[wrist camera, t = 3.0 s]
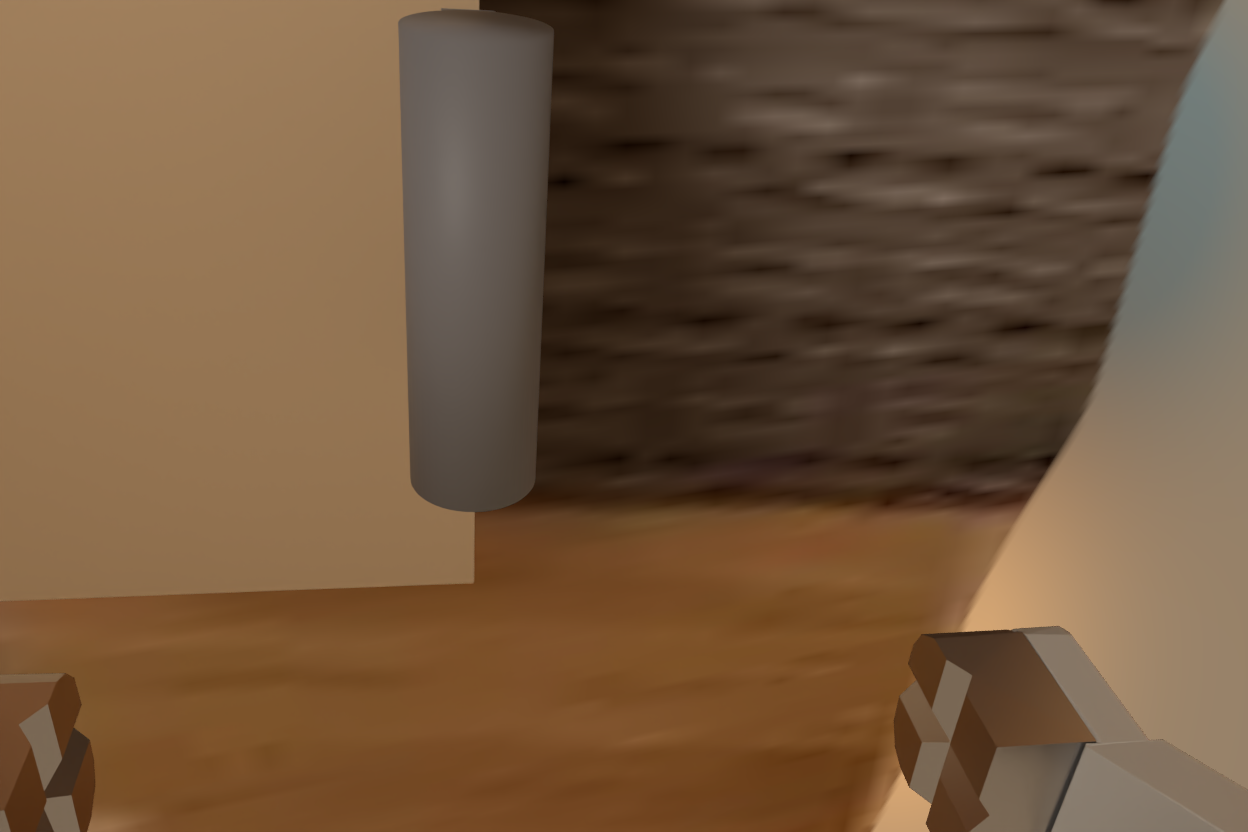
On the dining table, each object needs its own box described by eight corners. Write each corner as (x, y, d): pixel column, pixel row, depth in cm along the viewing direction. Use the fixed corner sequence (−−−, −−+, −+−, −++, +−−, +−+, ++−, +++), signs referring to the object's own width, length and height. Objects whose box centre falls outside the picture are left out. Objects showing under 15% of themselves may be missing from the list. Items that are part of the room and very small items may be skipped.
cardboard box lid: (-613, -521, 16) (-1069, -636, 11) (541, -395, 18) (583, -443, 14) (-191, 592, 26) (-331, 786, 21) (512, 566, 28) (530, 733, 24)
